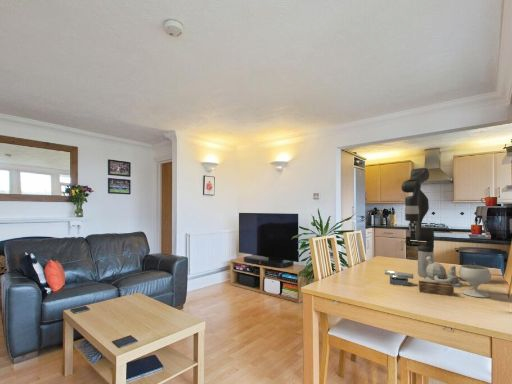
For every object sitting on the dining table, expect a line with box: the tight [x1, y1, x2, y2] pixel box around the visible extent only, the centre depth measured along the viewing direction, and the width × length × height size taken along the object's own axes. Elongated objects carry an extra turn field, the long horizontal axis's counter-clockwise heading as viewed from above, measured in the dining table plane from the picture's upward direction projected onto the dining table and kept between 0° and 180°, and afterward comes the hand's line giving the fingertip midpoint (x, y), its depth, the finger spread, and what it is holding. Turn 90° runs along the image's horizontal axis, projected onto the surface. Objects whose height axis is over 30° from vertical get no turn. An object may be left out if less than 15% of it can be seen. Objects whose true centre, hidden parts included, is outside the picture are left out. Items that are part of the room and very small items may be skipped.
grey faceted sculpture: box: [422, 256, 464, 289], centre depth 174 cm, size 20×15×15 cm
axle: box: [384, 269, 414, 280], centre depth 174 cm, size 16×3×3 cm, turn 62°
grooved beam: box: [418, 280, 455, 297], centre depth 156 cm, size 16×7×5 cm, turn 62°
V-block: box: [389, 275, 409, 287], centre depth 174 cm, size 10×10×5 cm
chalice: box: [458, 264, 492, 298], centre depth 152 cm, size 14×14×15 cm
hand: (412, 239), depth 172 cm, fingers open, 8 cm apart
